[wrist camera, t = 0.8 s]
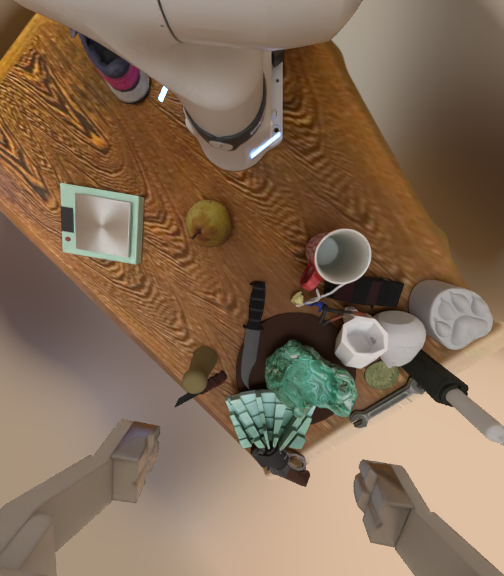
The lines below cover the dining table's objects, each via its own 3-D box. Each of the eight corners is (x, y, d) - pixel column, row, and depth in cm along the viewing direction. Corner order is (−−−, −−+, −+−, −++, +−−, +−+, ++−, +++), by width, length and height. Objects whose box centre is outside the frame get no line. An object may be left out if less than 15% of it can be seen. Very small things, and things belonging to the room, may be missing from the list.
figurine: (272, 265, 52) (368, 270, 37) (296, 275, 57) (386, 282, 43) (262, 312, 51) (355, 335, 36) (287, 317, 57) (376, 339, 42)
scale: (69, 184, 50) (58, 182, 48) (144, 197, 50) (138, 195, 48) (71, 250, 54) (61, 252, 51) (141, 262, 54) (135, 264, 51)
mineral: (347, 340, 55) (362, 349, 45) (346, 410, 54) (361, 435, 44) (267, 335, 57) (264, 343, 47) (264, 403, 56) (261, 425, 46)
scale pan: (76, 193, 48) (74, 192, 47) (131, 202, 48) (129, 202, 47) (77, 248, 50) (75, 248, 50) (129, 257, 50) (127, 257, 50)
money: (247, 449, 59) (247, 468, 55) (224, 397, 55) (223, 413, 51) (325, 426, 58) (332, 444, 54) (308, 371, 54) (314, 385, 50)
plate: (362, 317, 55) (369, 323, 51) (342, 419, 62) (347, 431, 58) (239, 308, 55) (238, 313, 52) (234, 410, 62) (232, 421, 59)
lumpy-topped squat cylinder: (426, 339, 55) (455, 359, 47) (397, 296, 53) (422, 309, 45) (469, 314, 53) (507, 330, 45) (441, 268, 51) (476, 276, 43)
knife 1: (169, 398, 62) (175, 407, 63) (167, 401, 62) (174, 409, 62) (222, 369, 60) (229, 378, 60) (221, 371, 59) (228, 380, 59)
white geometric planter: (380, 365, 51) (397, 355, 43) (339, 371, 52) (347, 362, 43) (361, 314, 57) (372, 295, 49) (324, 320, 58) (329, 303, 49)
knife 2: (234, 386, 56) (255, 389, 57) (234, 389, 55) (255, 392, 55) (249, 280, 54) (271, 283, 54) (248, 280, 52) (271, 284, 52)
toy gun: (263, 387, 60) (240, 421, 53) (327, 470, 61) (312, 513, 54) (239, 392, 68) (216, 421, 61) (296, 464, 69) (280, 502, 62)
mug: (323, 218, 50) (345, 215, 37) (352, 248, 51) (383, 256, 38) (280, 262, 52) (286, 274, 39) (309, 290, 54) (324, 310, 40)
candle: (425, 350, 56) (548, 444, 32) (415, 369, 57) (527, 473, 33) (404, 345, 56) (512, 434, 32) (395, 363, 57) (493, 463, 33)
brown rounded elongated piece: (188, 355, 59) (171, 383, 48) (206, 341, 58) (194, 367, 47) (204, 372, 60) (191, 404, 49) (222, 359, 59) (213, 389, 48)
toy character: (442, 323, 44) (436, 376, 48) (400, 302, 54) (399, 348, 58) (390, 335, 43) (388, 388, 47) (357, 312, 53) (358, 357, 57)
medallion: (359, 384, 59) (360, 385, 58) (370, 356, 57) (372, 357, 56) (390, 391, 59) (392, 393, 59) (403, 363, 57) (404, 365, 57)
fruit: (221, 194, 50) (208, 184, 38) (240, 234, 51) (234, 237, 40) (185, 213, 51) (162, 209, 39) (205, 252, 53) (189, 259, 41)
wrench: (357, 427, 62) (427, 386, 58) (359, 433, 60) (431, 390, 56) (345, 414, 62) (415, 371, 58) (347, 418, 60) (419, 375, 56)
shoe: (94, -59, 41) (41, -149, 31) (167, 87, 45) (142, 48, 36) (50, -24, 42) (-14, -100, 32) (126, 114, 47) (90, 84, 37)
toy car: (390, 305, 54) (402, 314, 49) (320, 295, 54) (325, 302, 49) (399, 277, 52) (413, 283, 47) (327, 266, 52) (333, 271, 47)
